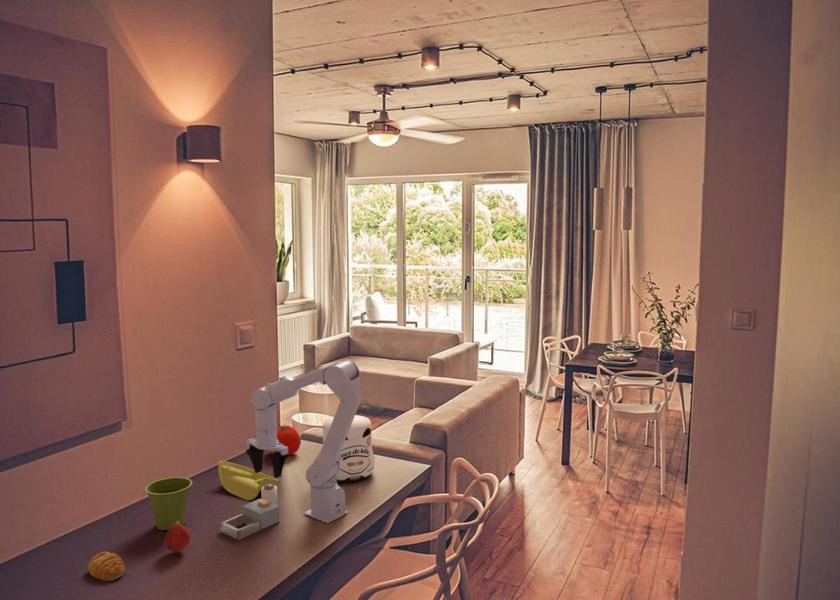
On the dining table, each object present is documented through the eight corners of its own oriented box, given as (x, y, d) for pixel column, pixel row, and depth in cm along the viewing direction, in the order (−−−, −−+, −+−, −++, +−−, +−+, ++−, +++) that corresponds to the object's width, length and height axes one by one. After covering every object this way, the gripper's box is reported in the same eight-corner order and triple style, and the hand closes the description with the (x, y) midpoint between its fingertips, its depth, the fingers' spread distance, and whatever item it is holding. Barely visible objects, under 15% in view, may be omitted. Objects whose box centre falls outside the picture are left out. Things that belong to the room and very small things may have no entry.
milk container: (354, 490, 193) (353, 433, 191) (309, 479, 201) (308, 424, 199) (385, 471, 208) (384, 418, 206) (342, 462, 216) (341, 411, 214)
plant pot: (203, 518, 175) (201, 478, 174) (175, 538, 163) (173, 496, 162) (166, 513, 178) (164, 474, 177) (137, 532, 167) (134, 491, 165)
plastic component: (282, 481, 195) (261, 477, 186) (274, 505, 193) (252, 502, 185) (238, 463, 205) (216, 459, 197) (230, 486, 203) (207, 483, 195)
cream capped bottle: (280, 507, 181) (280, 484, 180) (268, 512, 178) (267, 489, 177) (270, 503, 184) (270, 481, 183) (258, 508, 180) (257, 485, 180)
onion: (164, 560, 152) (162, 528, 152) (166, 548, 158) (165, 518, 157) (189, 556, 154) (188, 525, 153) (191, 545, 160) (190, 515, 159)
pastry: (133, 573, 147) (132, 558, 146) (104, 587, 142) (103, 571, 141) (113, 561, 153) (112, 546, 152) (84, 573, 147) (83, 558, 147)
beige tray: (262, 529, 168) (262, 520, 168) (238, 540, 162) (238, 531, 162) (244, 521, 173) (244, 512, 172) (220, 531, 167) (220, 522, 166)
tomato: (275, 447, 231) (274, 420, 230) (306, 451, 227) (306, 423, 226) (258, 458, 221) (257, 429, 220) (290, 462, 217) (290, 433, 216)
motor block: (279, 521, 172) (278, 503, 172) (261, 530, 167) (260, 511, 167) (260, 513, 177) (260, 495, 176) (242, 521, 172) (242, 503, 172)
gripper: (295, 428, 180) (296, 474, 181) (258, 420, 187) (260, 465, 189) (277, 435, 174) (278, 482, 175) (240, 427, 181) (242, 472, 183)
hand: (268, 474), depth 181 cm, fingers open, 7 cm apart
